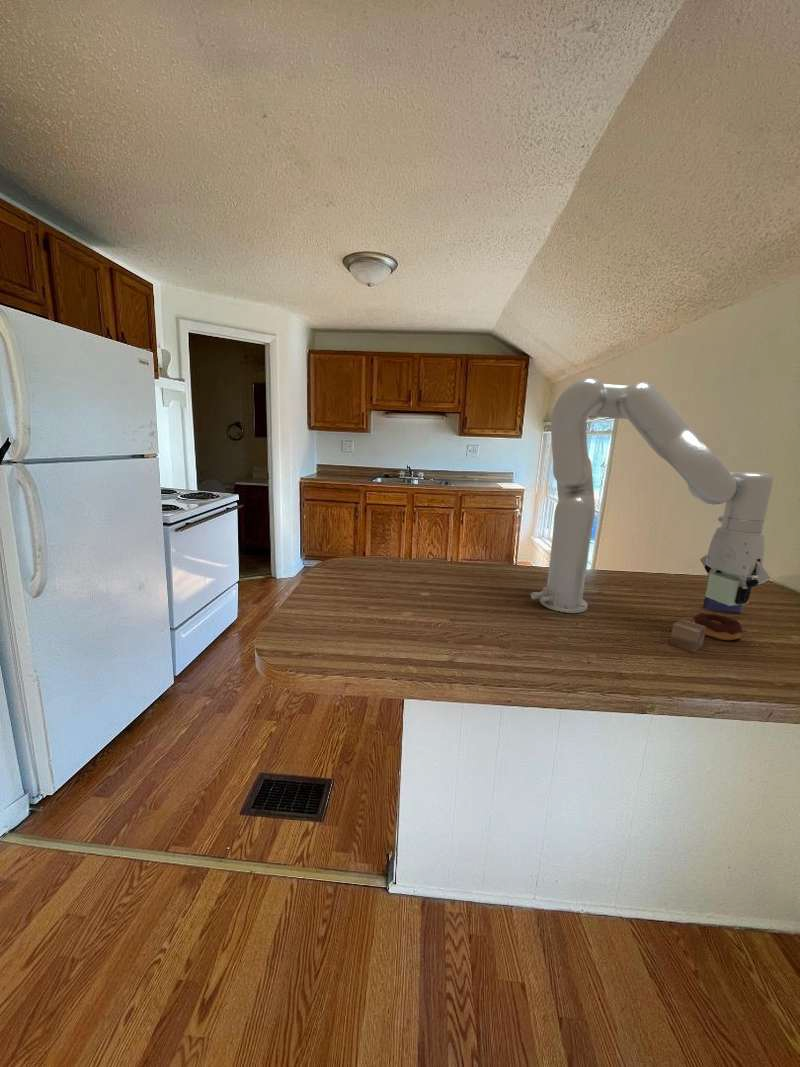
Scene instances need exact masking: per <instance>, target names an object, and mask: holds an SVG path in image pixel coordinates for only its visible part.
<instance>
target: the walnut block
mask: <svg viewBox="0 0 800 1067" xmlns="http://www.w3.org/2000/svg"><path fill="white" fill-rule="evenodd" d="M705 631H706V626H703V625H699V624H696V623H693V621H690V620H686V619H683V618H681V619H680V620H678V621H676V622H674V623H673V624H672V630H671V634H670V639H669V644H670V645H672V646H674V647H677V648H680V649H683V650H686V651H688V652H691V653H696V652H698V650H699V649H701V648H702V647H703V644H704V639H705V636H706V635H705Z"/></svg>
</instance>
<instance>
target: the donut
mask: <svg viewBox="0 0 800 1067" xmlns="http://www.w3.org/2000/svg"><path fill="white" fill-rule="evenodd" d="M692 619H693V621H692V622H693V623H696V624H699V625H703V626H706V631H705V636H707V637H710V638H712V639H717V640H721V641H733V640H737V639H740V638H741V637H742V636H743V635H742V633H743V628H742V625H741V623H740V621H738V620H736V619H733V618H731V617H728V616H726V615H725V616H724V615H720V614H715V613H703V612H702V613H698V614H697V615H695V616H693V618H692Z"/></svg>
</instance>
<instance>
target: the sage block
mask: <svg viewBox="0 0 800 1067" xmlns="http://www.w3.org/2000/svg"><path fill="white" fill-rule="evenodd" d="M708 579H709V580H707V584H708V585H706V589H707V590H705V594H706V595H705V594H704V598H705V597H708V598H710V599H713V600H716V601H718V602H721V603H723V604H726V605H729V606H732V605H740V604H736V603H735V600H736V595H737V591H738V588H739V587H741V583H740V578H739V576H736V575H732V574H729V573H726V572H719V573H710V574H709V577H708ZM750 594H751V592H750ZM749 601H750V599H749V600H748V601H747V603H745V604H744V605H746V604H749Z"/></svg>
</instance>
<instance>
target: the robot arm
mask: <svg viewBox="0 0 800 1067" xmlns="http://www.w3.org/2000/svg"><path fill="white" fill-rule="evenodd" d="M590 416H591V417H600V418H609V419H619V420H620V419H621V420H622V419H623V420H628V421H629V423H631V425H632V426H633V427H634V429H635V430H636V431H637V432H638V433H639V434H640V436H641V437H642V439H644V440H645V442H646V443H647V444H648V445H649V447H650V448H651V449H652V450H653V451H654V453H655V454H657V455H658V456H659V457H660V458H661V459H663V460H665V461H666V462H667V463H668V464H670V466H671V467H672V468H673V469H674V470H675V471H676V472H677V473H678V475H680V476H681V477H682V479H683V480H684V481H685V482H686V484H687V487H688V488H687V489H688V491H689V493H690V494H691V495H692V496H693V497H695V498H696V499H698V500H700V501H702V502H703V503H706V504H708V505H713V506H714V505H715V506H716V505H721V504H724V503H725V504H724V505H725V506H724V511H723V515H722V516H721V515H720V516H719V517H718V522H720V523H721V525H720V526H719V527H717V528H716V530H715V532H714V534H713V536H712V538H711V541H710V543H709V547H708V550H707V554H706V555H704V556H703V557H701V558H700V559H699V560H700V562H701V564H702V566H703V567H704V569H705V572H706V573H707V577H708V578H709V574H710V573H719V572H726V573H729V574H732V575H736V576H739V578H740V583H741V587H739V588H738V591H737V595H736V600H735V603H736V604H743V605H746V604H745V603H747V601H748V600H749V601H750V597H751V593H750V592H751V591H752V589H754V588H755V587H758V586H760V585H761V584H763V583H766V582H767V581H770V580H771V577H770V575H769V574H768V572H767V571H766V569H765V568H764V566H763V562H764V557H765V534H763V533H762V532H763V528H764V524H765V519H766V516H767V510H768V507H769V501H770V496H771V492H772V488H773V487H772V486H773V483H774V478H773V476H772V474H770V473H767V472H760V471H746V470H745V471H729V469H728V468H727V467H726V466H725V465H724V464H723V462H722V461H721V460H720V459H719V458H718V457H717V456H716V454H715V453H714V452H713V451H712V450H711V449H710V448H709V447H708V446H707V445H706V444H705V443H704V441H702V439H701V438H700V437H699V436H698V435H697V434H696V432H695V431H694V430H693V429H692V428H691V427H690V426H689V425H688V424H687V422H686V421H684V419H683V417H681V416H680V415H679V414H678V412H677V411H676V410H675V409H674V408H673V406H672V405H671V404H670V402H668V400H667V399H666V397H664V395H662V393H661V392H660V391H659V390H658V388H656V386H654V385H653V384H651V383H649V382H647V381H638V382H634V383H632V384H629V385H628V384H627V385H626V384H622V385H621V384H611V383H603V382H602V381H601V380H599V379H598V378H595V377H584V378H581V379H579V380H577V381H575V382H574V383H572V384H570V385H569V386H568V387H567V388H566V389H564V391H563V392H562V393H561V394H560V396H558V398H557V400H556V402H555V404H554V406H553V409H552V412H551V416H550V435H551V436H550V437H551V452H552V455H551V456H552V473H553V474H552V475H553V476H554V479H555V481H556V489H557V497H558V500H557V503H556V506H555V510H554V515H553V527H552V528H553V529H552V537H551V538H552V539H551V548H550V556H549V557H550V558H549V566H548V574H547V582H546V586H544V587H543V588H542V590H540V591H533V592H531V593H530V598H531V599H532V600H539V601H538V602H539V603H540V604H541V605H542V606H544V607H546V608H547V609H550V610H551V611H556V612H559V611H560V613H564V612H565V614H579V613H584V612H585V611H587V609H588V603H587V601H586V600H585V599H584V598H583V597H584V596H583V595H584V588H585V581H586V575H587V568H588V567H587V566H588V562H589V561H588V560H589V555H590V554H589V551H590V544H591V538H592V531H593V526H594V521H595V513H596V505H595V502H596V501H595V493H594V482H593V479H594V478H593V468H592V466H593V465H592V461H591V459H590V457H589V452H588V441H587V440H588V438H587V437H588V436H587V420H588V418H589V417H590ZM754 576H755V577H756V576H757V577H756V578H754ZM747 604H748V603H747Z"/></svg>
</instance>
